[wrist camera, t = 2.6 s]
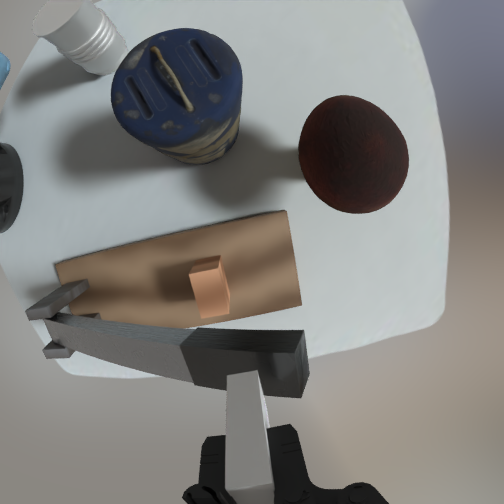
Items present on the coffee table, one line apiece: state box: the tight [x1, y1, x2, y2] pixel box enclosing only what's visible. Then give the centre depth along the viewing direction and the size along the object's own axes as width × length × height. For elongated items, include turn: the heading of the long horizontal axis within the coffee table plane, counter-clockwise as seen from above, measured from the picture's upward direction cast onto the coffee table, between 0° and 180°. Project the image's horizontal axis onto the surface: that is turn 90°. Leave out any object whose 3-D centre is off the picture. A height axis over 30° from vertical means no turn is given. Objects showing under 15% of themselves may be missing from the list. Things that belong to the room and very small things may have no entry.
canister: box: [111, 28, 243, 165], centre depth 23 cm, size 10×10×18 cm
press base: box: [25, 210, 302, 359], centre depth 30 cm, size 12×32×12 cm, turn 101°
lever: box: [43, 312, 310, 398], centre depth 20 cm, size 4×29×2 cm, turn 101°
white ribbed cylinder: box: [32, 0, 128, 76], centre depth 21 cm, size 7×7×15 cm
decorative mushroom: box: [298, 95, 409, 214], centre depth 26 cm, size 11×11×15 cm
